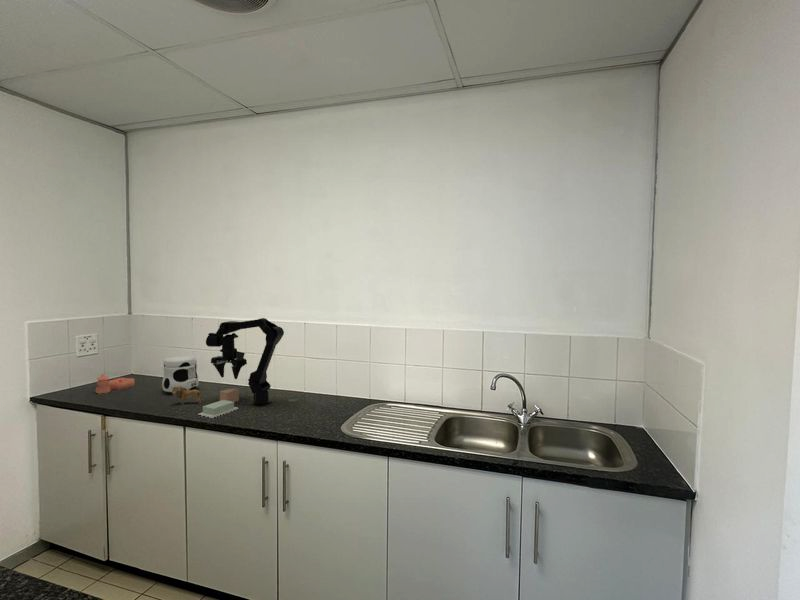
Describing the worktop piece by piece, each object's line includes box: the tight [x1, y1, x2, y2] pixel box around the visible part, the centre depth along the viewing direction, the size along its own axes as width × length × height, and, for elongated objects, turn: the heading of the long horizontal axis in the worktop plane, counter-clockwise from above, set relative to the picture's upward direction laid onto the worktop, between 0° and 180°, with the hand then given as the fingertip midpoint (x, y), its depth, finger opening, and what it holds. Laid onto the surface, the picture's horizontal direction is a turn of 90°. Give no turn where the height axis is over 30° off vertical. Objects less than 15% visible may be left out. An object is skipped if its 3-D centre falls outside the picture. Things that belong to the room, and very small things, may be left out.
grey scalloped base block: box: [198, 400, 239, 419], centre depth 179 cm, size 9×14×4 cm, turn 155°
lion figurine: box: [171, 386, 207, 405], centre depth 191 cm, size 15×5×9 cm, turn 108°
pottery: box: [95, 373, 136, 395], centre depth 214 cm, size 18×10×10 cm, turn 168°
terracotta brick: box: [219, 387, 240, 403], centre depth 194 cm, size 5×7×6 cm
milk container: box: [161, 355, 199, 394], centre depth 212 cm, size 17×17×18 cm
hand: (229, 378), depth 194 cm, fingers open, 9 cm apart
